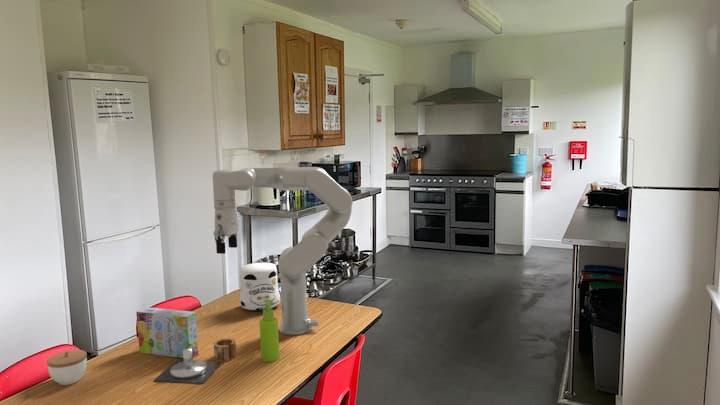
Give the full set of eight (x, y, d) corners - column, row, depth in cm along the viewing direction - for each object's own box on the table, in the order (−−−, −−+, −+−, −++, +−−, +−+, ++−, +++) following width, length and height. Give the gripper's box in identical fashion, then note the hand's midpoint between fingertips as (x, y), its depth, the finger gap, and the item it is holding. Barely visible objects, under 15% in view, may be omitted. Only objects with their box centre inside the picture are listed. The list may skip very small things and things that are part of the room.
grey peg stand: (222, 363, 170) (220, 341, 169) (202, 383, 157) (201, 359, 156) (176, 361, 173) (174, 339, 172) (153, 381, 159) (151, 357, 158)
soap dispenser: (265, 364, 169) (262, 305, 166) (259, 356, 175) (256, 299, 172) (282, 360, 171) (279, 301, 169) (276, 352, 177) (273, 296, 175)
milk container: (261, 317, 212) (259, 274, 210) (231, 310, 222) (228, 269, 219) (289, 304, 227) (287, 264, 224) (260, 298, 236) (257, 260, 234)
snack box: (199, 353, 179) (196, 311, 177) (189, 360, 174) (186, 316, 172) (149, 346, 186) (146, 306, 184) (138, 353, 181) (134, 311, 178)
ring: (239, 352, 178) (238, 338, 178) (231, 361, 171) (230, 347, 171) (219, 351, 179) (219, 338, 179) (211, 360, 173) (210, 346, 172)
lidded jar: (95, 371, 167) (92, 343, 166) (78, 388, 156) (75, 358, 155) (61, 373, 167) (58, 345, 165) (42, 389, 156) (38, 359, 155)
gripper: (223, 207, 180) (226, 256, 182) (244, 201, 197) (246, 245, 199) (203, 207, 182) (206, 255, 184) (225, 201, 198) (228, 245, 201)
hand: (227, 250), depth 192 cm, fingers open, 9 cm apart
